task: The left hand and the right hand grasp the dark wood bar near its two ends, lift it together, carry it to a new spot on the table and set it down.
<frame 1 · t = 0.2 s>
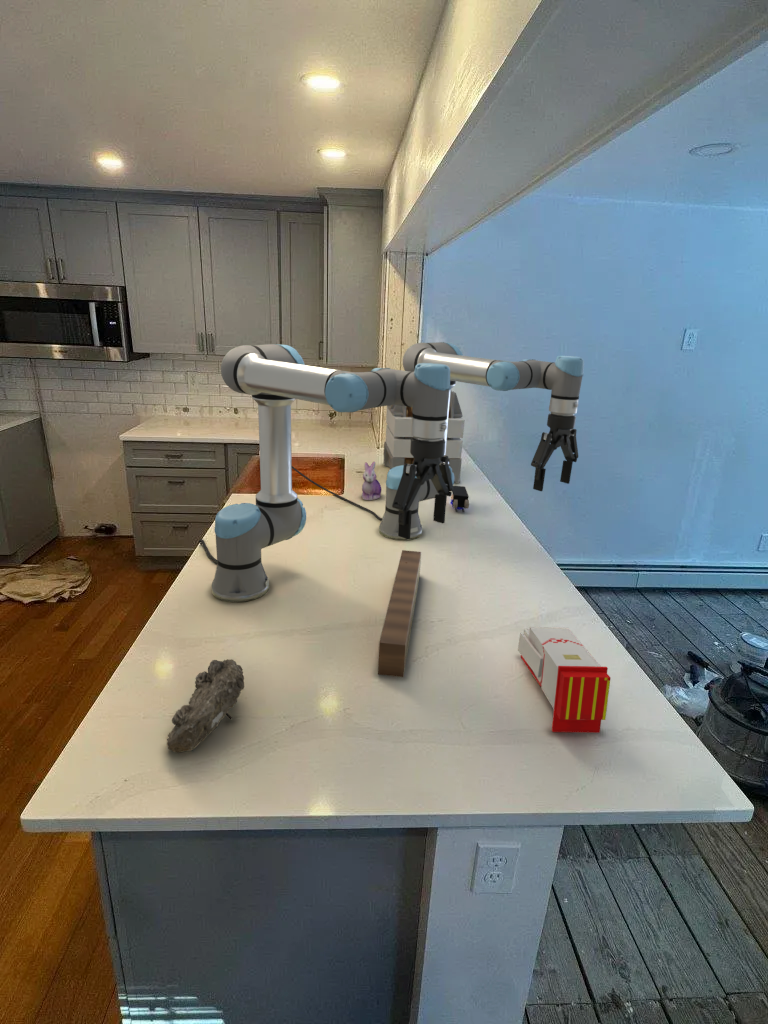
left hand: (422, 529, 129), 28 cm above the counter, tool pointing down, fingers open, 13 cm apart
right hand: (551, 486, 166), 28 cm above the counter, tool pointing down, fingers open, 13 cm apart
toy: (553, 688, 121), on the counter
fossil: (212, 717, 108), on the counter
figurine character: (458, 508, 229), on the counter
white wooden crate: (419, 473, 275), on the counter
bar: (401, 617, 146), on the counter
figurine: (371, 497, 237), on the counter
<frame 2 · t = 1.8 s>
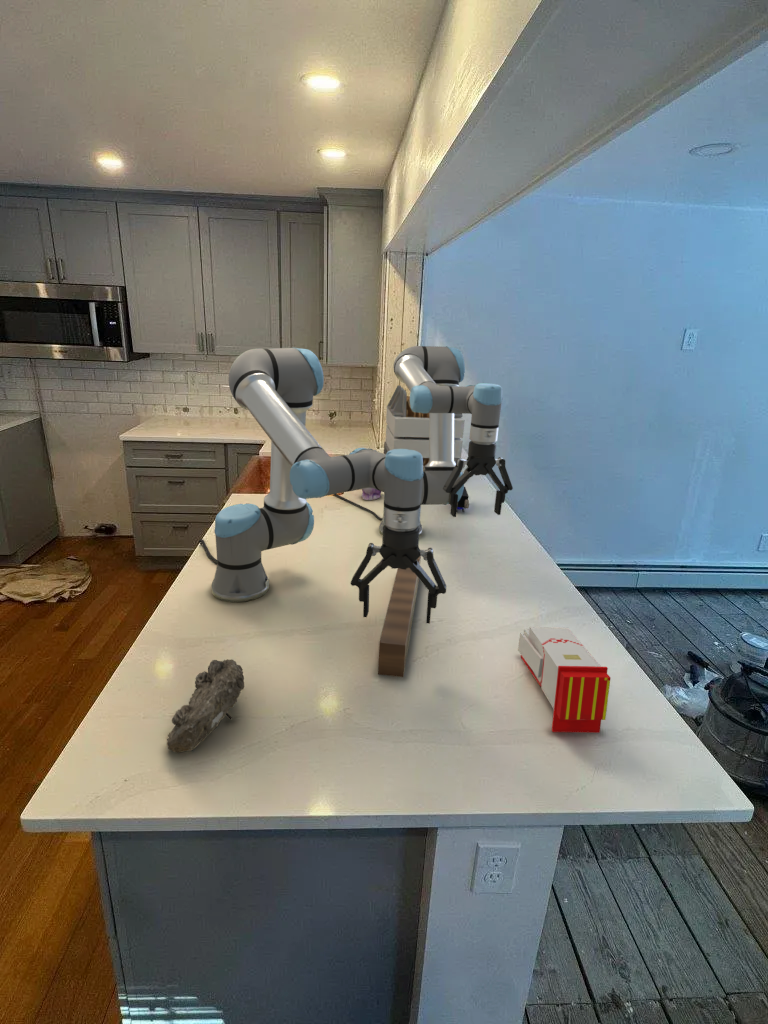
left hand: (396, 617, 123), 12 cm above the counter, tool pointing down, fingers open, 13 cm apart
right hand: (475, 514, 162), 20 cm above the counter, tool pointing down, fingers open, 13 cm apart
nothing on the counter moved.
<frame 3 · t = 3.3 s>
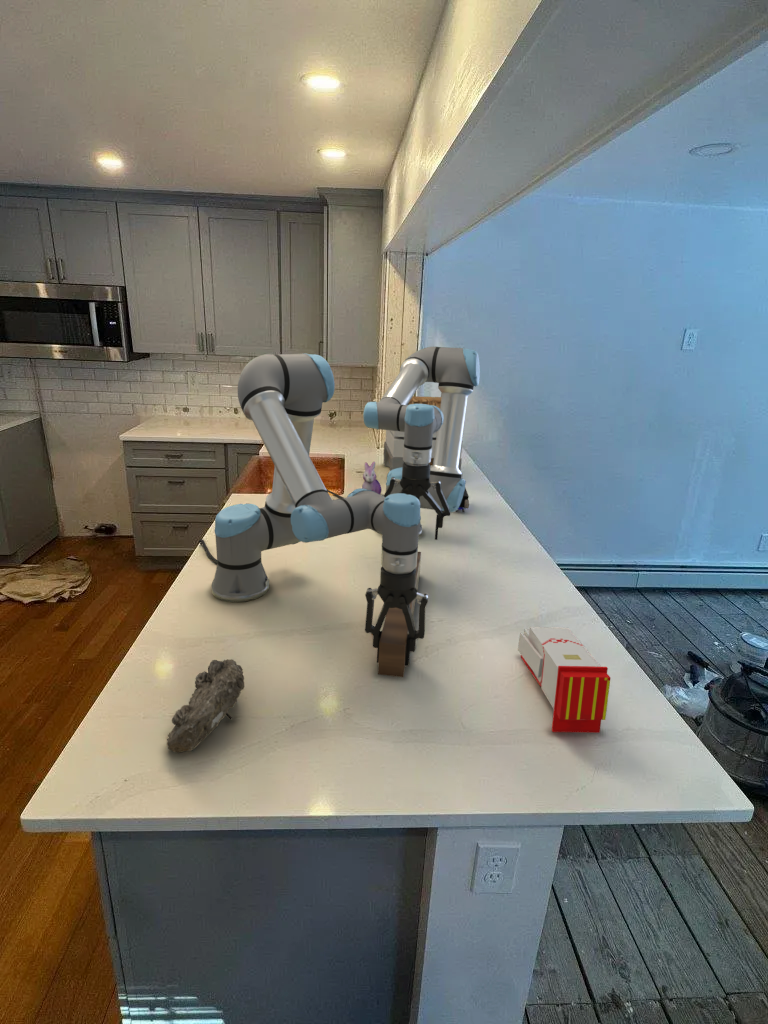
left hand: (393, 660, 127), 1 cm above the counter, tool pointing down, fingers closed on bar, 6 cm apart
right hand: (411, 536, 160), 15 cm above the counter, tool pointing down, fingers open, 13 cm apart
bar: (401, 617, 146), on the counter, touching left hand
everything else where it was.
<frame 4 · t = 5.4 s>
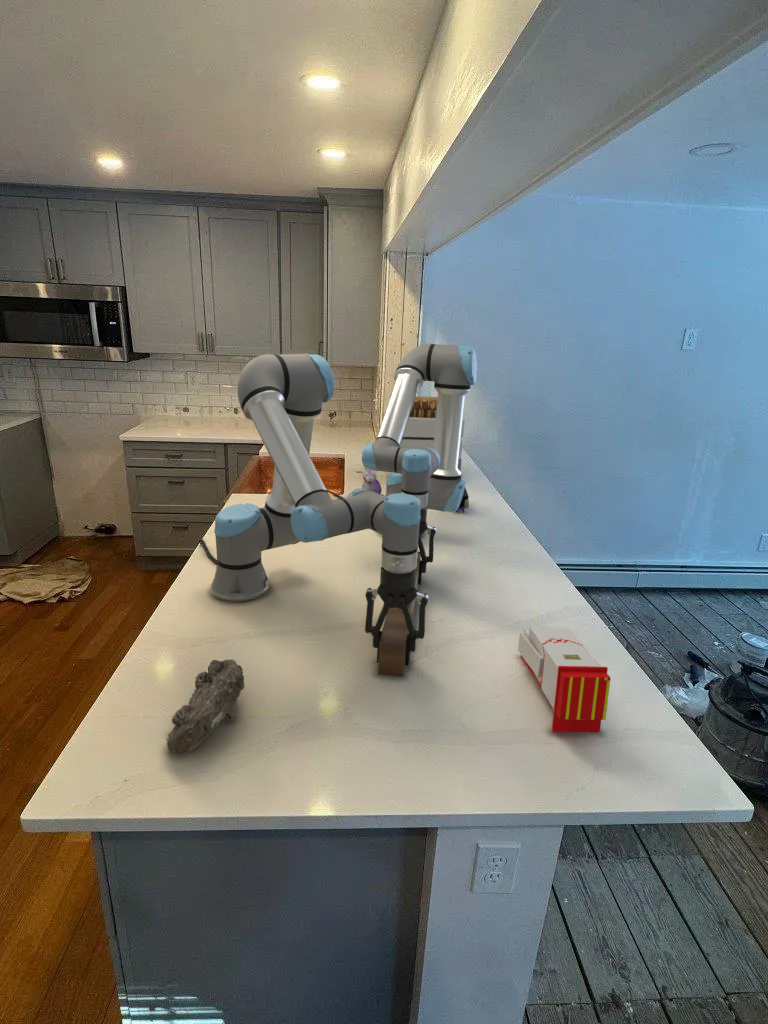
left hand: (393, 660, 127), 1 cm above the counter, tool pointing down, fingers closed on bar, 6 cm apart
right hand: (408, 581, 164), 1 cm above the counter, tool pointing down, fingers closed on bar, 6 cm apart
bar: (401, 617, 146), on the counter, touching right hand, left hand
everything else where it was.
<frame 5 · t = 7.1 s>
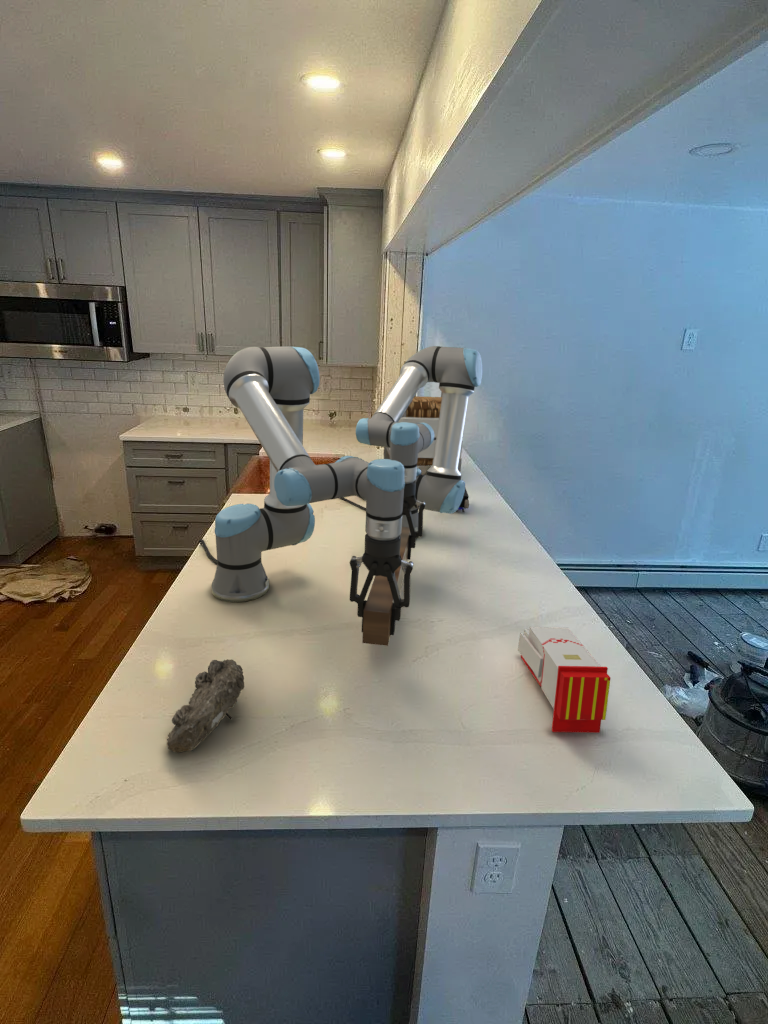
left hand: (378, 630, 126), 7 cm above the counter, tool pointing down, fingers closed on bar, 6 cm apart
right hand: (398, 556, 163), 8 cm above the counter, tool pointing down, fingers closed on bar, 6 cm apart
bar: (389, 590, 145), point 7 cm above the counter, touching right hand, left hand
everything else where it was.
when the left hand's fingers open (2 cm above the counter, at t = 9.0 s): bar drops 2 cm, on the counter.
when the right hand's fingers open (2 cm above the counter, at t = 9.0 s): bar drops 2 cm, on the counter.
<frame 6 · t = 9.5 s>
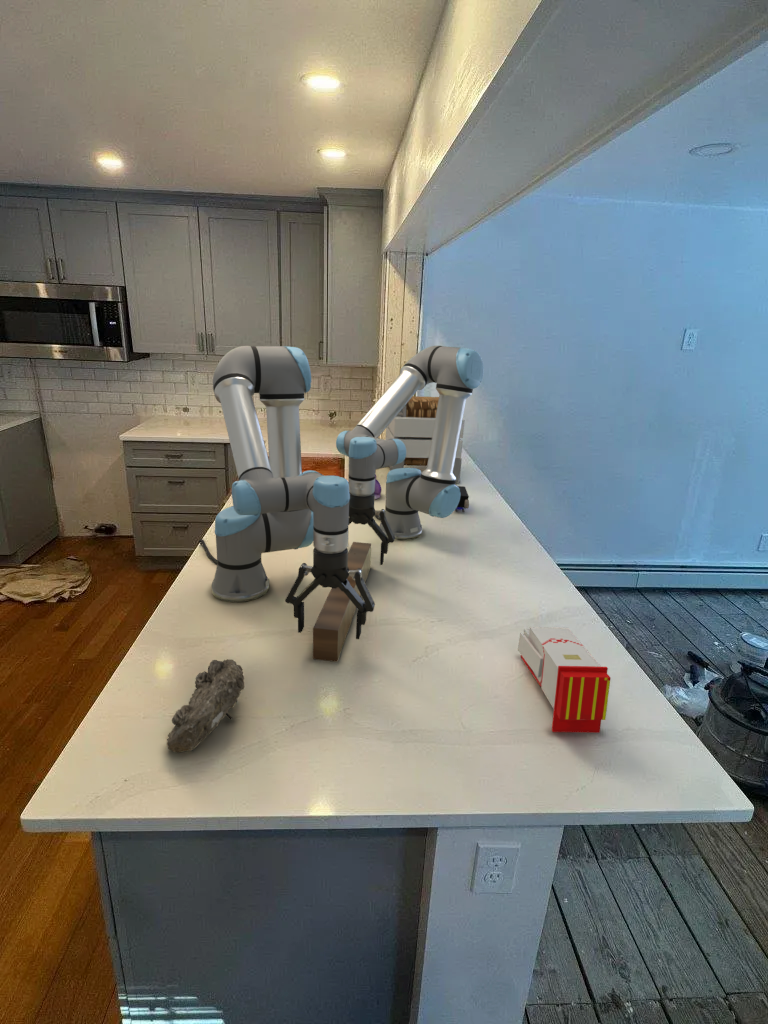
left hand: (329, 632, 130), 4 cm above the counter, tool pointing down, fingers open, 13 cm apart
right hand: (359, 561, 167), 4 cm above the counter, tool pointing down, fingers open, 13 cm apart
bar: (346, 606, 150), on the counter
everything else where it was.
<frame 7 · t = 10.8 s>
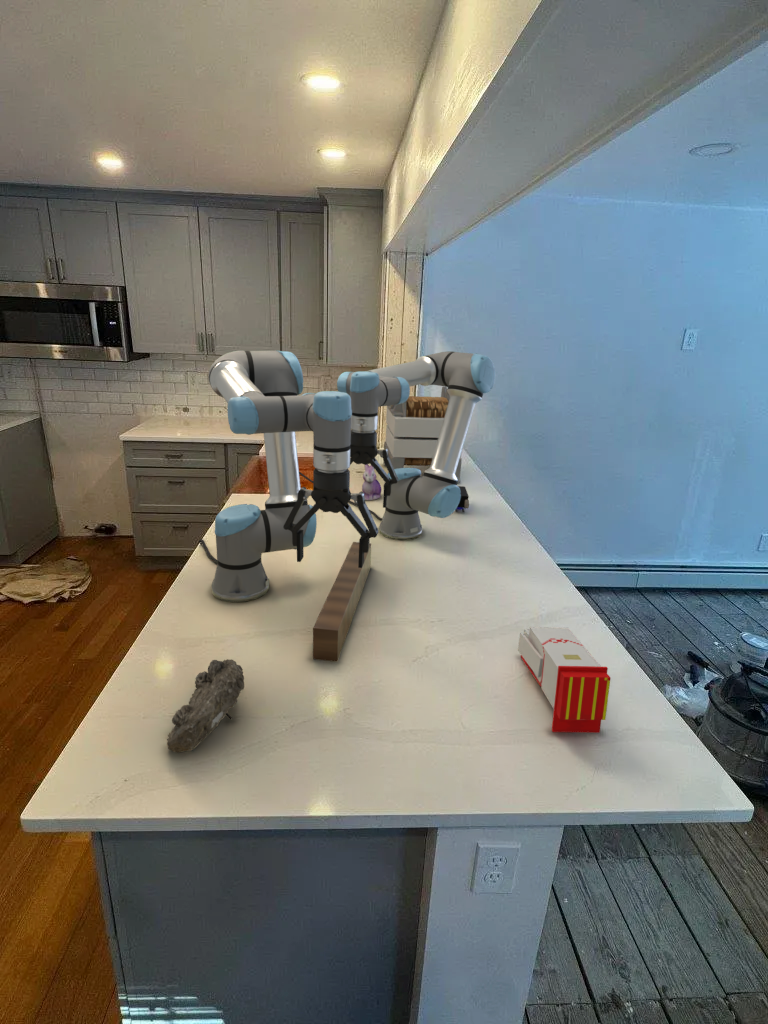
left hand: (330, 562, 124), 22 cm above the counter, tool pointing down, fingers open, 13 cm apart
right hand: (361, 504, 161), 22 cm above the counter, tool pointing down, fingers open, 13 cm apart
nothing on the counter moved.
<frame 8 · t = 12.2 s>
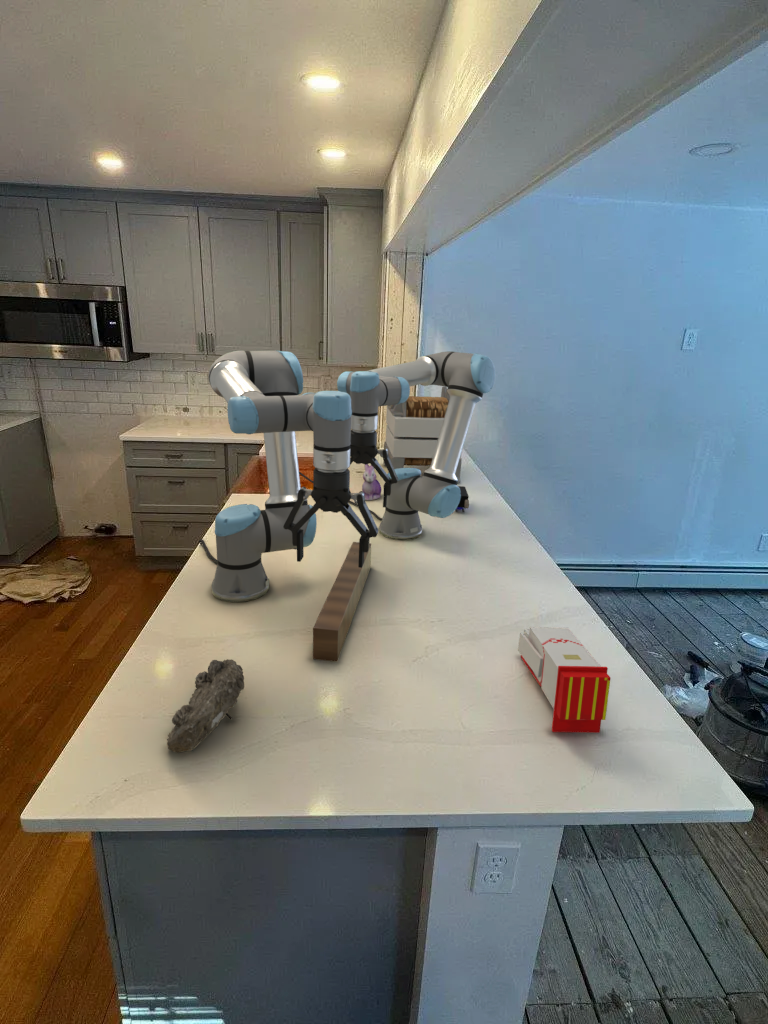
left hand: (330, 562, 124), 22 cm above the counter, tool pointing down, fingers open, 13 cm apart
right hand: (361, 504, 161), 22 cm above the counter, tool pointing down, fingers open, 13 cm apart
nothing on the counter moved.
at the end: bar inside the target area (0.1 cm from its centre), on the counter; bar tilted 0°; bar never tilted more than 1° during the clip; both hands held the bar at the same time; the left hand is holding nothing; the right hand is holding nothing; bar at rest at the end (0.0 cm/s) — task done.
